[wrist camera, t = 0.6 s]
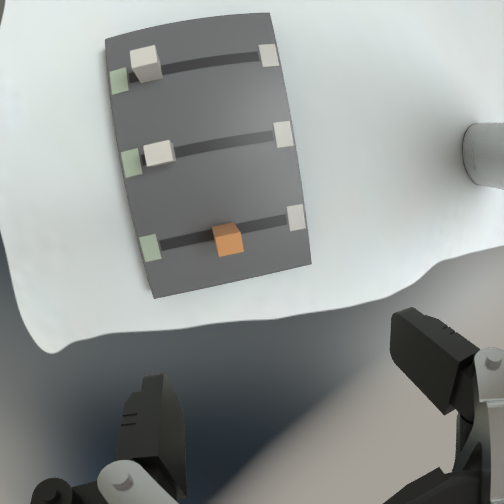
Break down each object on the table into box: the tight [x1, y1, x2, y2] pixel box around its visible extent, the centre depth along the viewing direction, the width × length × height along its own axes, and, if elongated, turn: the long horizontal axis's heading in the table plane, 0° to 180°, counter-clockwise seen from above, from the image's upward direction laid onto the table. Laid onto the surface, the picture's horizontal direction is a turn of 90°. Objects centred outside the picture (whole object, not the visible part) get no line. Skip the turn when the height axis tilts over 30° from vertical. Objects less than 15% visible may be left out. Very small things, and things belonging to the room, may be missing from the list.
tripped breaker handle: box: [212, 222, 244, 257], centre depth 27 cm, size 2×2×4 cm
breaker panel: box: [105, 13, 312, 299], centre depth 26 cm, size 16×26×7 cm, turn 10°
